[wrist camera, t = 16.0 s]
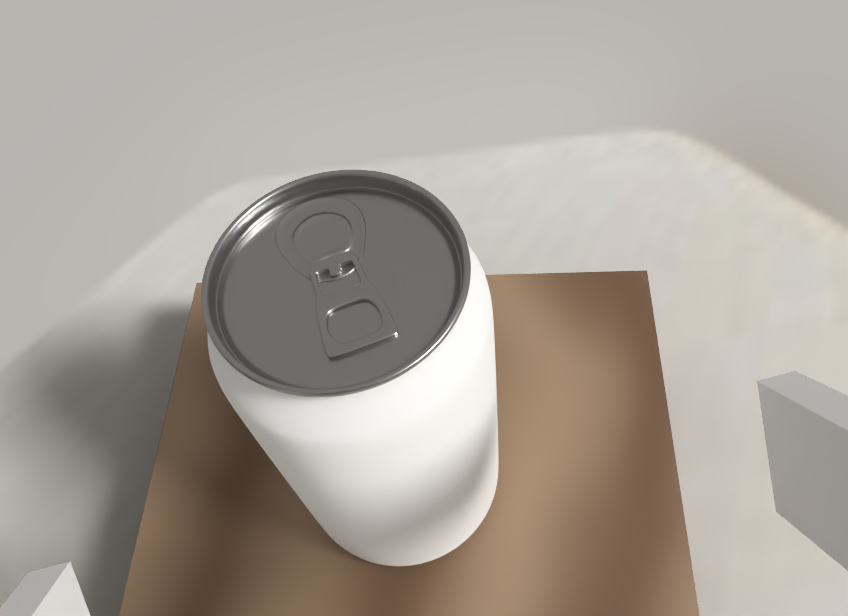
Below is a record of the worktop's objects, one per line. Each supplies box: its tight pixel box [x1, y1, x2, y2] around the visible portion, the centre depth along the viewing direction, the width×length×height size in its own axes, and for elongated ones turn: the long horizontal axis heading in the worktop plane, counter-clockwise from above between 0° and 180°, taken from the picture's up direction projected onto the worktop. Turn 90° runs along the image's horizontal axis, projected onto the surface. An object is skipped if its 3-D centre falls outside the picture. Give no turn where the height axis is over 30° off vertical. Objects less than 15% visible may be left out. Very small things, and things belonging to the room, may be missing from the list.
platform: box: [119, 271, 699, 616], centre depth 27 cm, size 18×16×4 cm
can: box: [201, 170, 499, 566], centre depth 20 cm, size 6×6×12 cm
